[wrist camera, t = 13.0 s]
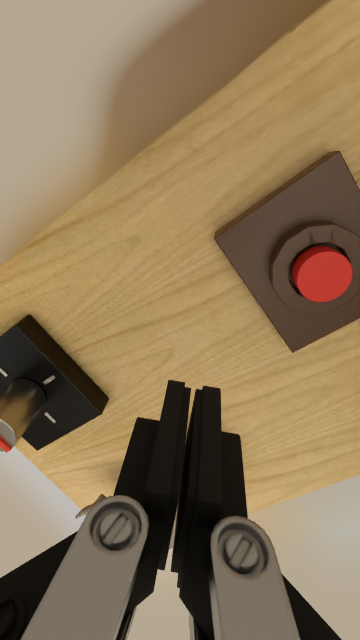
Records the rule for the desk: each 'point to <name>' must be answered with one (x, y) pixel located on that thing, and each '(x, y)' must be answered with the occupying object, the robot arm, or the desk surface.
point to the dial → (18, 410)
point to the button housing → (299, 248)
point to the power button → (322, 273)
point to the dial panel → (49, 382)
